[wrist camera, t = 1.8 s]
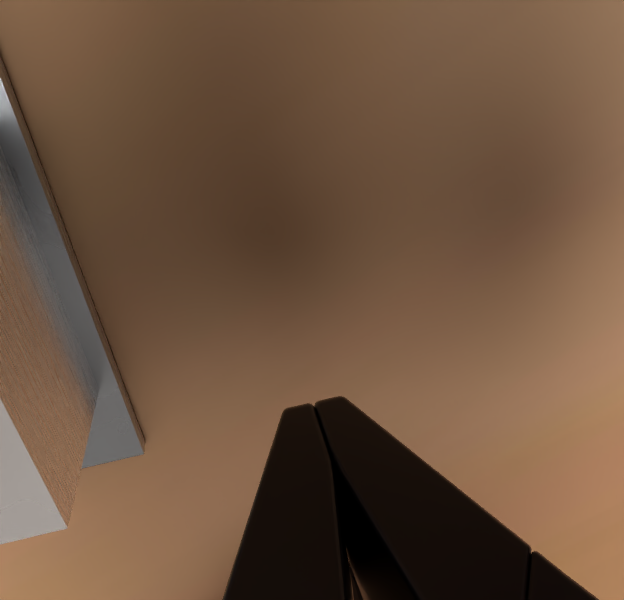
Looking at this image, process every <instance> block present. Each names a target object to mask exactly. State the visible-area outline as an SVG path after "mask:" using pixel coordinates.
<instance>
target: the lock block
mask: <svg viewBox="0 0 624 600" xmlns="http://www.w3.org/2000/svg"><path fill="white" fill-rule="evenodd" d="M98 393H99V389H98V386H97V384H96V381H95V379H94V376H93V374H92V371H91V369H90V366H89V364H88V361H87V359H86V356H85V354H84V351H83V349H82V347H81V344H80V342H79V339H78V337H77V334H76V332H75V329H74V327H73V324H72V322H71V319H70V317H69V314H68V312H67V309H66V307H65V305H64V302H63V300H62V297H61V295H60V292H59V290H58V287H57V285H56V282H55V280H54V277H53V275H52V272H51V270H50V267H49V265H48V262H47V260H46V258H45V255H44V253H43V250H42V248H41V245H40V243H39V240H38V238H37V235H36V233H35V230H34V228H33V225H32V223H31V220H30V218H29V215H28V213H27V211H26V208H25V206H24V203H23V201H22V198H21V196H20V193H19V191H18V188H17V186H16V183H15V181H14V178H13V176H12V173H11V171H10V169H9V166H8V164H7V161H6V159H5V156H4V154H3V151H2V149H1V146H0V544H4V543H8V542H13V541H17V540H21V539H25V538H29V537H33V536H38V535H42V534H46V533H50V532H54V531H58V530H63V529H67V528H68V524H69V520H70V516H71V511H72V507H73V502H74V498H75V494H76V489H77V485H78V481H79V476H80V472H81V467H82V463H83V459H84V454H85V450H86V445H87V441H88V437H89V432H90V428H91V424H92V419H93V415H94V410H95V406H96V402H97V397H98Z"/></svg>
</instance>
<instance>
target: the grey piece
mask: <svg viewBox="0 0 624 600" xmlns="http://www.w3.org/2000/svg"><path fill="white" fill-rule="evenodd" d="M0 146H1V149H2V151H3V154H4V156H5V159H6V161H7V164H8V166H9V169H10V171H11V173H12V176H13V178H14V181H15V183H16V186H17V188H18V191H19V193H20V196H21V198H22V201H23V203H24V206H25V208H26V211H27V213H28V215H29V218H30V220H31V223H32V225H33V228H34V230H35V233H36V235H37V238H38V240H39V243H40V245H41V248H42V250H43V253H44V255H45V258H46V260H47V262H48V265H49V267H50V270H51V272H52V275H53V277H54V280H55V282H56V285H57V287H58V290H59V292H60V295H61V297H62V300H63V302H64V305H65V307H66V309H67V312H68V314H69V317H70V319H71V322H72V324H73V327H74V329H75V332H76V334H77V337H78V339H79V342H80V344H81V347H82V349H83V351H84V354H85V356H86V359H87V361H88V364H89V366H90V369H91V371H92V374H93V376H94V379H95V381H96V384H97V386H98V389H99V393H98V397H97V402H96V406H95V410H94V415H93V419H92V424H91V428H90V432H89V437H88V441H87V445H86V450H85V454H84V459H83V463H82V467H81V469H82V468H86V467H90V466H95V465H99V464H103V463H108V462H112V461H116V460H121V459H125V458H129V457H134V456H138V455H142V454H144V450H145V440H144V438H143V435H142V432H141V430H140V427H139V424H138V422H137V419H136V416H135V413H134V411H133V408H132V405H131V403H130V400H129V397H128V395H127V392H126V389H125V387H124V384H123V381H122V379H121V376H120V373H119V371H118V368H117V365H116V363H115V360H114V357H113V355H112V352H111V349H110V347H109V344H108V341H107V339H106V336H105V333H104V331H103V328H102V325H101V323H100V320H99V317H98V315H97V312H96V309H95V307H94V304H93V301H92V299H91V296H90V293H89V291H88V288H87V285H86V283H85V280H84V277H83V275H82V272H81V269H80V267H79V264H78V261H77V259H76V256H75V253H74V251H73V248H72V245H71V243H70V240H69V237H68V235H67V232H66V229H65V227H64V224H63V221H62V219H61V216H60V213H59V211H58V208H57V205H56V203H55V200H54V197H53V195H52V192H51V189H50V187H49V184H48V181H47V179H46V176H45V173H44V171H43V168H42V165H41V163H40V160H39V157H38V155H37V152H36V149H35V147H34V144H33V141H32V139H31V136H30V133H29V131H28V128H27V125H26V123H25V120H24V117H23V115H22V112H21V109H20V107H19V104H18V101H17V99H16V96H15V93H14V91H13V88H12V85H11V83H10V80H9V77H8V75H7V72H6V69H5V67H4V64H3V61H2V59H1V56H0Z"/></svg>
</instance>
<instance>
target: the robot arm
mask: <svg viewBox="0 0 624 600" xmlns="http://www.w3.org/2000/svg"><path fill="white" fill-rule="evenodd" d="M347 554H348V556H347ZM348 558H349V561H350V565H351V567H349V562H348ZM222 600H599V599H597V598H596V597H595V596H594V595H592V594H591V593H590V592H588V591H587V590H586V589H584V588H583V587H582V586H580V585H579V584H578V583H576V582H575V581H574V580H573V579H571V578H570V577H569V576H567V575H566V574H565V573H563V572H562V571H561V570H560V569H558V568H557V567H556V566H555V565H553V564H552V563H551V562H550V561H549V560H547V559H546V558H545V557H544V556H542V555H541V554H540V553H539V552H537V551H534V552H532V553H531V547H530V546H529V545H528V544H527V543H526V542H525V541H523V540H522V539H521V538H520V537H518V536H517V535H516V534H515V533H513V532H512V531H511V530H510V529H508V528H507V527H506V526H505V525H503V524H502V523H501V522H500V521H498V520H497V519H496V518H495V517H493V516H492V515H491V514H490V513H488V512H487V511H486V510H485V509H483V508H482V507H481V506H480V505H478V504H477V503H476V502H475V501H473V500H472V499H471V498H470V497H468V496H467V495H466V494H465V493H463V492H462V491H461V490H460V489H458V488H457V487H456V486H455V485H453V484H452V483H451V482H450V481H448V480H447V479H446V478H445V477H443V476H442V475H441V474H440V473H438V472H437V471H436V470H435V469H433V468H432V467H431V466H430V465H428V464H427V463H426V462H425V461H423V460H422V459H421V458H420V457H418V456H417V455H416V454H415V453H413V452H412V451H411V450H410V449H408V448H407V447H406V446H405V445H403V444H402V443H401V442H400V441H398V440H397V439H396V438H395V437H393V436H392V435H391V434H390V433H389V432H387V431H386V430H385V429H384V428H382V427H381V426H380V425H379V424H377V423H376V422H375V421H374V420H372V419H371V418H370V417H369V416H367V415H366V414H365V413H364V412H362V411H361V410H360V409H359V408H357V407H356V406H355V405H354V404H352V403H351V402H350V401H349V400H347V399H346V398H345V397H342V396H338V397H333V398H329V399H325V400H320V401H317V402H316V403H315V405H314V406H313V405H312V404H310V403H307V404H303V405H298V406H294V407H290V408H286V409H285V410H284V411H283V413H282V415H281V418H280V421H279V424H278V428H277V431H276V434H275V437H274V440H273V443H272V446H271V449H270V452H269V456H268V459H267V462H266V465H265V468H264V471H263V474H262V477H261V481H260V484H259V487H258V490H257V493H256V496H255V499H254V502H253V506H252V509H251V512H250V515H249V518H248V521H247V524H246V527H245V530H244V534H243V537H242V540H241V543H240V546H239V549H238V552H237V555H236V559H235V562H234V565H233V568H232V571H231V574H230V577H229V580H228V584H227V587H226V590H225V593H224V596H223V599H222Z"/></svg>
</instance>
